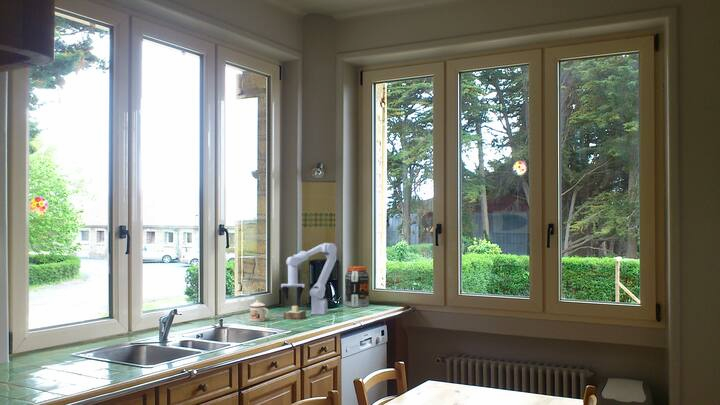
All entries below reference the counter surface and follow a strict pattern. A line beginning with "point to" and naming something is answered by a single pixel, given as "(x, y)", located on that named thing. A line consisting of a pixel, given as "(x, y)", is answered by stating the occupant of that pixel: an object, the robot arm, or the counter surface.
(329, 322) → the counter surface
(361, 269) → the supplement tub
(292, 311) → the lid
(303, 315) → the walnut box
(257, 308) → the teacup with lid
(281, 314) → the rubber mat
